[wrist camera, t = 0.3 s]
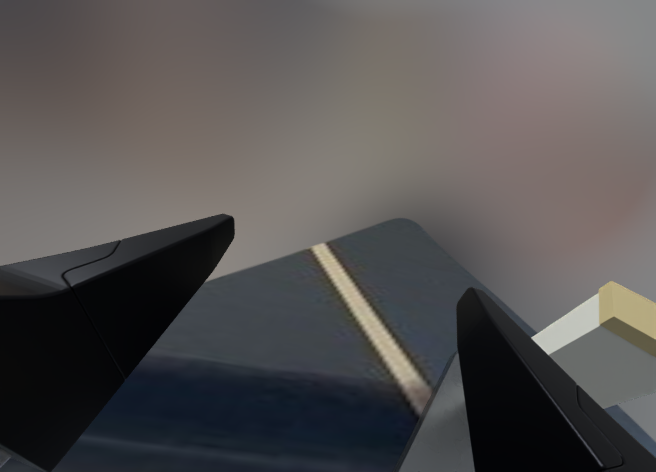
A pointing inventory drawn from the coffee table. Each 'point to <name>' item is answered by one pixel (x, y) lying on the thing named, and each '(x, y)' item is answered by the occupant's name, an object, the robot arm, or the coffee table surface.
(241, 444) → the coffee table surface
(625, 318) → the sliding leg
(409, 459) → the plate
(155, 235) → the robot arm
